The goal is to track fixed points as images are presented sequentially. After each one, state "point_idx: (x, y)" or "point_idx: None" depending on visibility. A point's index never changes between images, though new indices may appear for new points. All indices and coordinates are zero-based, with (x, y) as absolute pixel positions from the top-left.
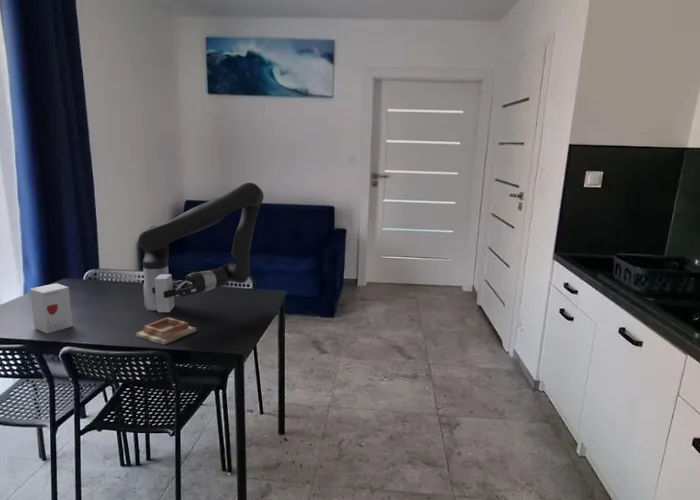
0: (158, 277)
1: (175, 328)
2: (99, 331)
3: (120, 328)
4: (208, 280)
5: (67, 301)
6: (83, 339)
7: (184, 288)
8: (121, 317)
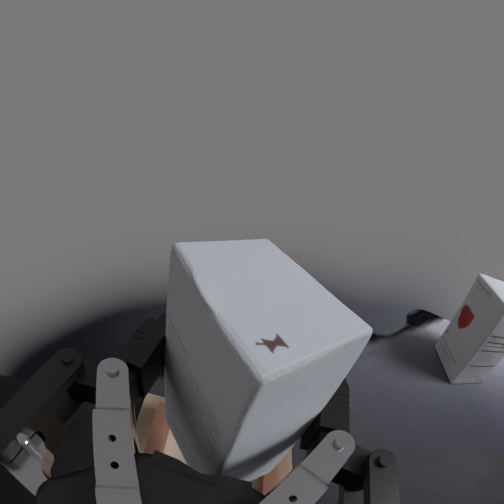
0: (274, 260)
1: (145, 449)
2: (393, 398)
3: (379, 437)
4: None
5: (484, 332)
6: (369, 359)
7: (49, 383)
8: (451, 474)
